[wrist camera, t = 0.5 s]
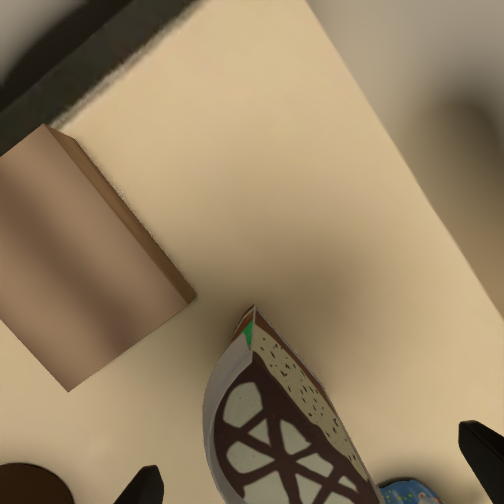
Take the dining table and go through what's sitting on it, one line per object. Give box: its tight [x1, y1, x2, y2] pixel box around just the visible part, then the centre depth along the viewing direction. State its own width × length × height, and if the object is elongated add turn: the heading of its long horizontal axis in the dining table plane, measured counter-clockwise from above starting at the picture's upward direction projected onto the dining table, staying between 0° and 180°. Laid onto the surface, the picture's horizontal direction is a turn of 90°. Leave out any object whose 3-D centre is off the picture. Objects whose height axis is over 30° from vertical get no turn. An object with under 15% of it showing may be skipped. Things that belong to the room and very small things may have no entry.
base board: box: [0, 124, 196, 392], centre depth 19 cm, size 11×15×3 cm
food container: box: [203, 305, 386, 504], centre depth 17 cm, size 12×6×10 cm, turn 39°
